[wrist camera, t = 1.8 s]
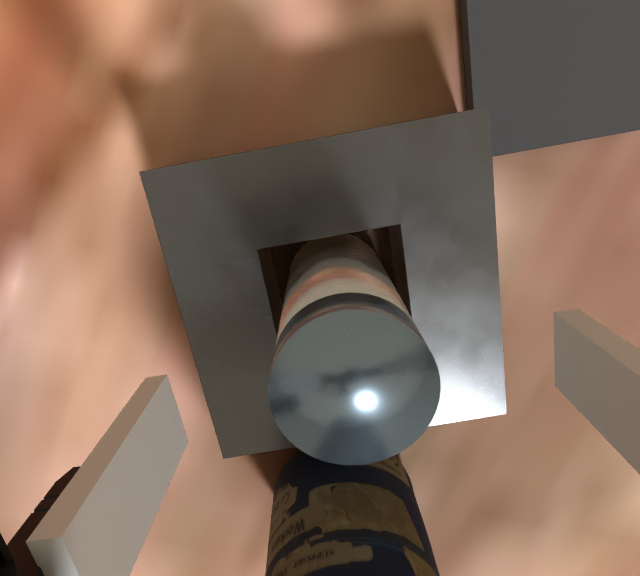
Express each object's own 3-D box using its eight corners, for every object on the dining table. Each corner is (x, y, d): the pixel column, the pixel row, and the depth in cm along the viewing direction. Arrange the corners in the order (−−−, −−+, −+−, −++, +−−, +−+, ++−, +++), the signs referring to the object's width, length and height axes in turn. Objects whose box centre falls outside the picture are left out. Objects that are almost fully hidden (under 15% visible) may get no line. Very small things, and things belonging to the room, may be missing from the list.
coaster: (470, 158, 25) (477, 159, 24) (457, -29, 22) (464, -37, 21) (635, 128, 24) (648, 128, 24) (643, -66, 22) (658, -75, 21)
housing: (236, 412, 30) (223, 458, 25) (169, 166, 25) (139, 171, 21) (478, 373, 29) (506, 414, 25) (458, 112, 24) (489, 106, 20)
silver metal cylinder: (298, 328, 28) (286, 476, 16) (280, 241, 26) (250, 329, 14) (387, 313, 28) (447, 451, 15) (375, 224, 26) (432, 298, 14)
